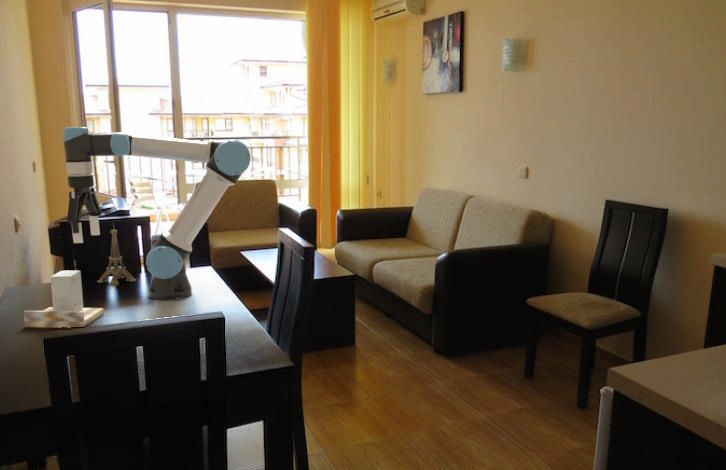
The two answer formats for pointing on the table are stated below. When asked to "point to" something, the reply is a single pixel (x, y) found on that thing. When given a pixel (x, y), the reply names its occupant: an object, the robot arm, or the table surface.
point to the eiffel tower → (115, 264)
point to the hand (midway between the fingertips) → (87, 238)
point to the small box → (67, 291)
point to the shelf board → (61, 317)
